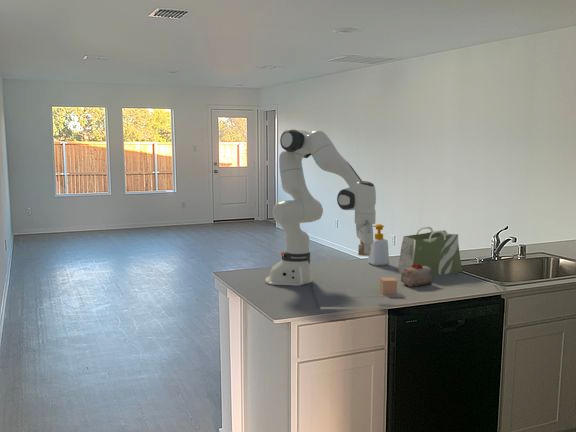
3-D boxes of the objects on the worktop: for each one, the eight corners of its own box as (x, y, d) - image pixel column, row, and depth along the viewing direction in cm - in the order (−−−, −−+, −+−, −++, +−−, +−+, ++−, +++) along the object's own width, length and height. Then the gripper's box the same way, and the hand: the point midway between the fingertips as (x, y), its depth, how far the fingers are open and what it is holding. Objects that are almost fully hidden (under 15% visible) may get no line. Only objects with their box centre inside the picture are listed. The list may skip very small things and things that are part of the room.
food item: (409, 288, 254) (410, 267, 253) (399, 284, 261) (399, 263, 260) (433, 285, 260) (434, 264, 258) (422, 281, 267) (423, 261, 266)
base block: (382, 294, 238) (383, 280, 238) (380, 290, 244) (380, 277, 244) (396, 294, 239) (397, 280, 238) (393, 290, 245) (393, 277, 244)
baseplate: (349, 299, 234) (349, 297, 234) (344, 290, 248) (344, 288, 248) (405, 298, 235) (406, 296, 235) (397, 290, 249) (398, 288, 249)
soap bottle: (359, 263, 308) (360, 223, 305) (382, 261, 312) (383, 222, 309) (367, 266, 299) (367, 226, 296) (390, 265, 303) (391, 225, 300)
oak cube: (358, 255, 237) (358, 245, 237) (360, 253, 242) (360, 243, 241) (368, 256, 236) (369, 245, 236) (370, 254, 240) (370, 243, 240)
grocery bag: (413, 278, 274) (415, 231, 271) (396, 272, 286) (397, 227, 283) (463, 272, 287) (465, 227, 284) (445, 267, 300) (447, 224, 297)
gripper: (377, 222, 227) (376, 255, 229) (368, 216, 247) (367, 247, 249) (361, 222, 227) (361, 255, 228) (353, 216, 247) (353, 247, 249)
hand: (364, 251), depth 239 cm, fingers closed on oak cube, 5 cm apart
